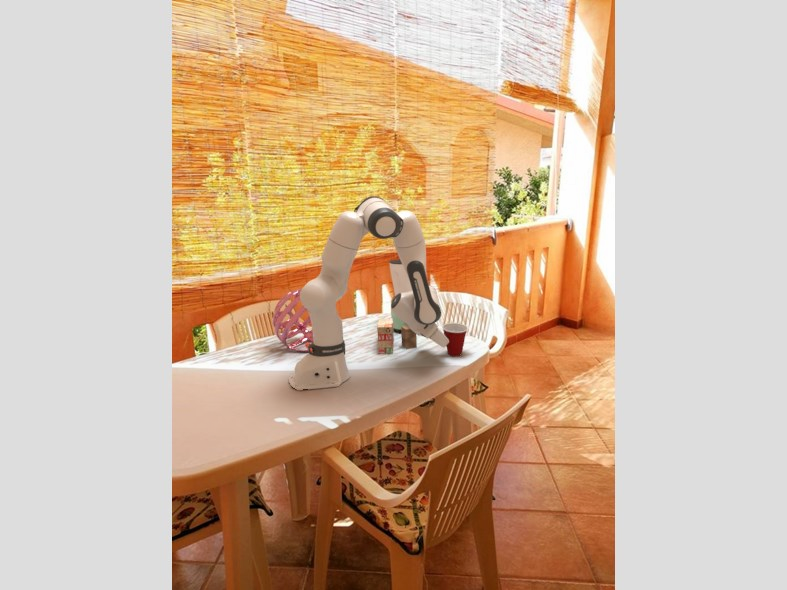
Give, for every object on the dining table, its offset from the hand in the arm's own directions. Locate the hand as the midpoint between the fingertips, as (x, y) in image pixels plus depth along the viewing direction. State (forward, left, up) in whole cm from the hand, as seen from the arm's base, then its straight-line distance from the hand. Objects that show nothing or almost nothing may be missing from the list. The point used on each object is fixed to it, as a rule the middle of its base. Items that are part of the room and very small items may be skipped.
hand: (444, 344), depth 201 cm
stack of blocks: (-17, +23, -5) cm, 29 cm away
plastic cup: (+5, 0, -5) cm, 7 cm away
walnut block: (-9, +17, -5) cm, 20 cm away
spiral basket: (-51, +38, -5) cm, 63 cm away
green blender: (-1, +41, -5) cm, 42 cm away
